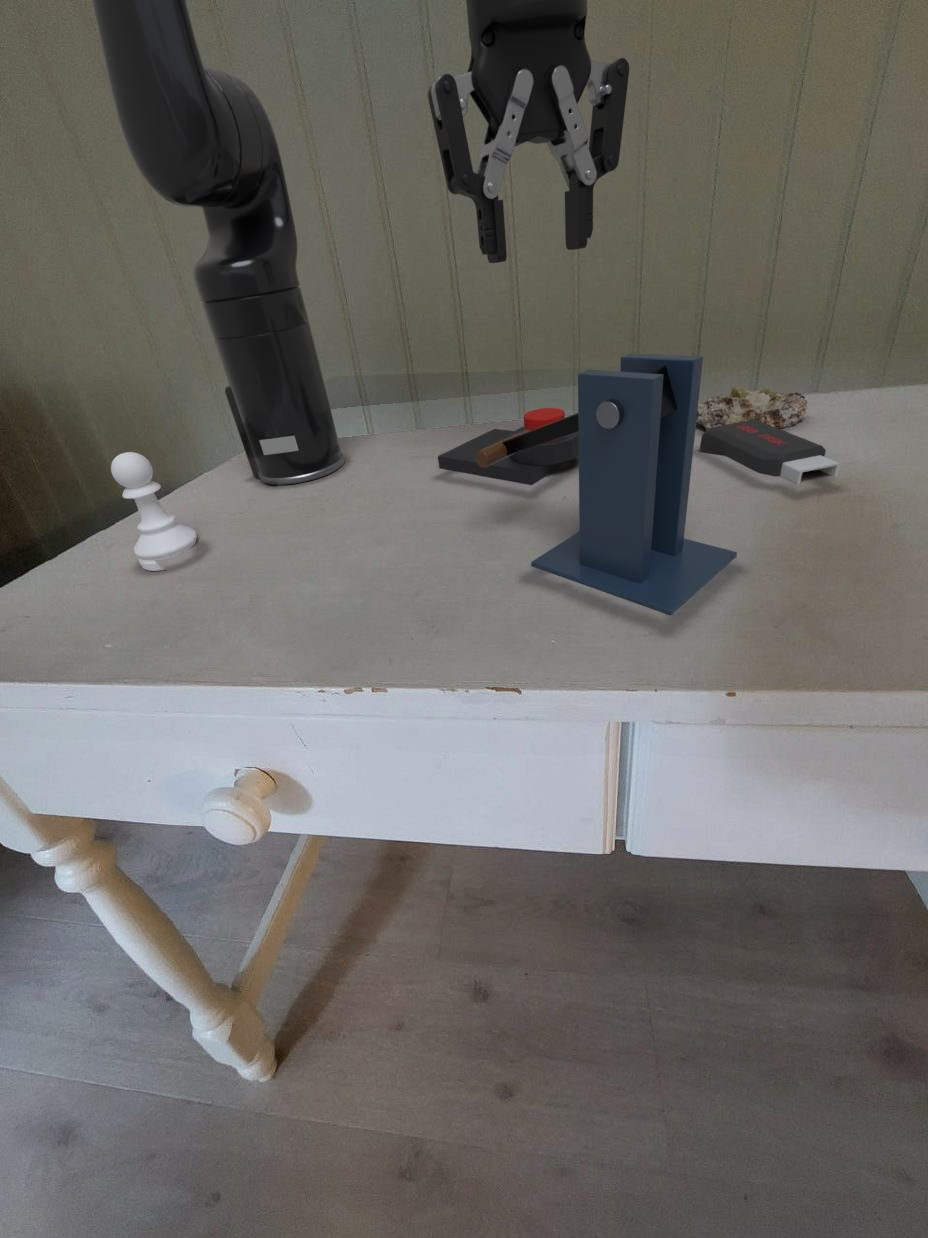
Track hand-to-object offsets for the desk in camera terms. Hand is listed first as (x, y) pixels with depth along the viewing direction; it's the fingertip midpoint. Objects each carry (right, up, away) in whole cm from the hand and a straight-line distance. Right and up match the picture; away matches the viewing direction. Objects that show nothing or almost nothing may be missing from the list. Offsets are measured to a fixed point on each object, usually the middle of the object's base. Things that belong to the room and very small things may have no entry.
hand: (537, 254), depth 43 cm
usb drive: (+20, -15, +5) cm, 26 cm away
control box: (-1, -13, +12) cm, 18 cm away
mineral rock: (+24, -8, +15) cm, 29 cm away
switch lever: (+1, -17, -8) cm, 19 cm away
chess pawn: (-30, -23, +5) cm, 38 cm away
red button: (+2, -11, +8) cm, 14 cm away
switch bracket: (+5, -25, -6) cm, 26 cm away
